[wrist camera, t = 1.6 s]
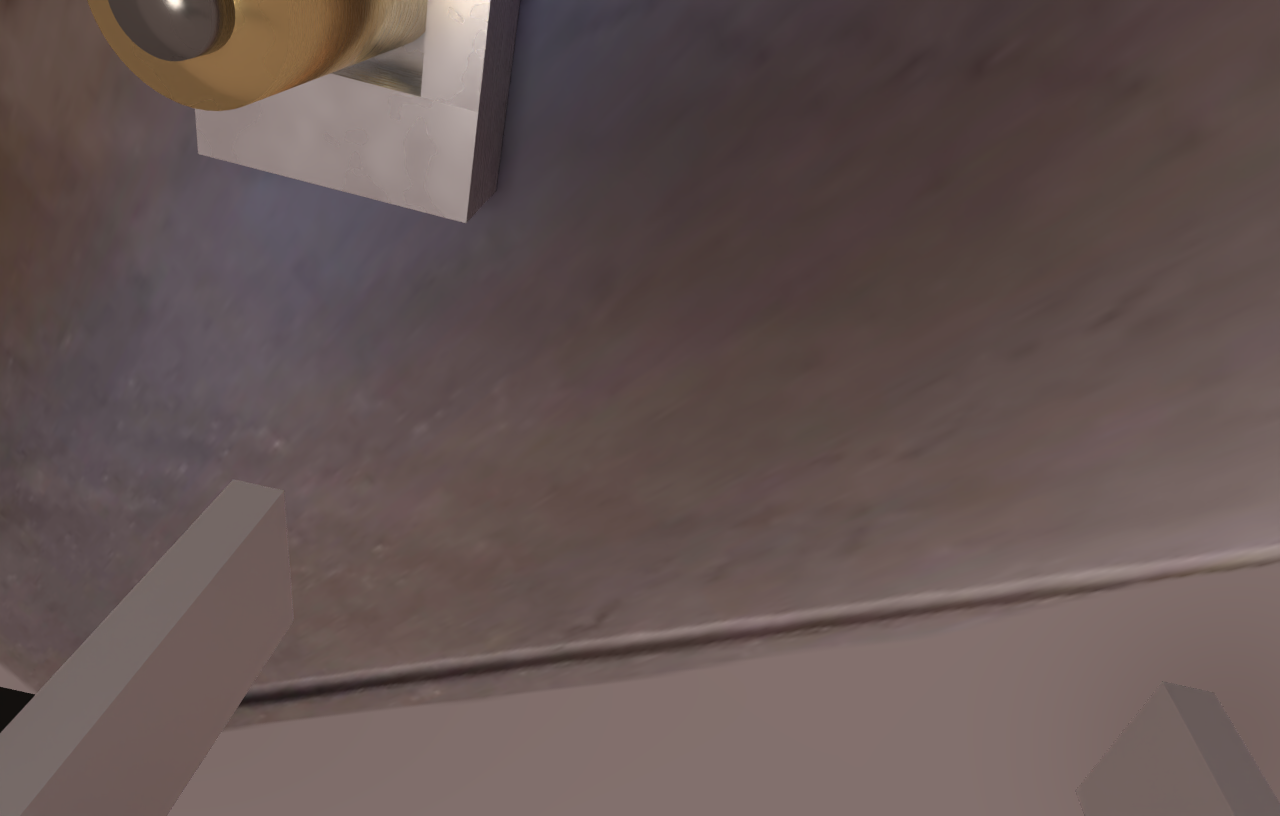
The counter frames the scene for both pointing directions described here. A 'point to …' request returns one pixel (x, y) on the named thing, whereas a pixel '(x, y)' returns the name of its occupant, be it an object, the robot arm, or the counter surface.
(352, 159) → the housing
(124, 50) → the brass capped cylinder
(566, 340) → the counter surface
